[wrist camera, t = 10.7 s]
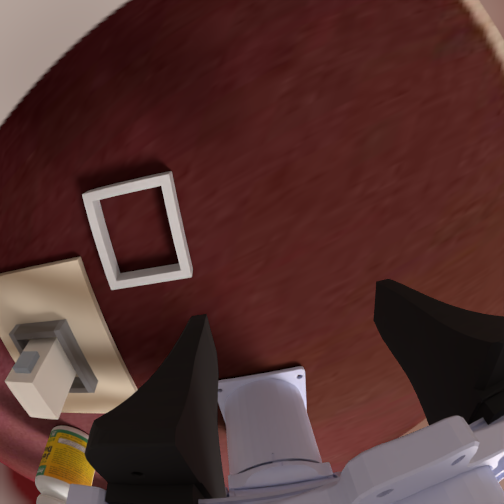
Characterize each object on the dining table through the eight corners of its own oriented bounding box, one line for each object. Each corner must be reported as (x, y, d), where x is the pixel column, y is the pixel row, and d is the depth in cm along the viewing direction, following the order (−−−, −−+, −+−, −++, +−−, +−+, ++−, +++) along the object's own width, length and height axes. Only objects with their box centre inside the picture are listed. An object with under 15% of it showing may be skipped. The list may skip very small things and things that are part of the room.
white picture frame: (192, 269, 22) (191, 277, 21) (115, 281, 22) (111, 290, 20) (171, 170, 19) (168, 174, 18) (88, 190, 19) (81, 194, 18)
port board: (147, 407, 27) (144, 423, 25) (50, 407, 26) (44, 421, 24) (80, 256, 20) (69, 269, 19) (-23, 278, 20) (-36, 290, 18)
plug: (78, 369, 24) (58, 419, 18) (52, 369, 24) (30, 416, 18) (57, 327, 22) (28, 377, 16) (31, 329, 22) (1, 376, 16)
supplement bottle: (96, 458, 31) (83, 531, 20) (51, 439, 29) (30, 510, 19) (103, 437, 29) (87, 521, 18) (52, 416, 27) (26, 496, 17)
